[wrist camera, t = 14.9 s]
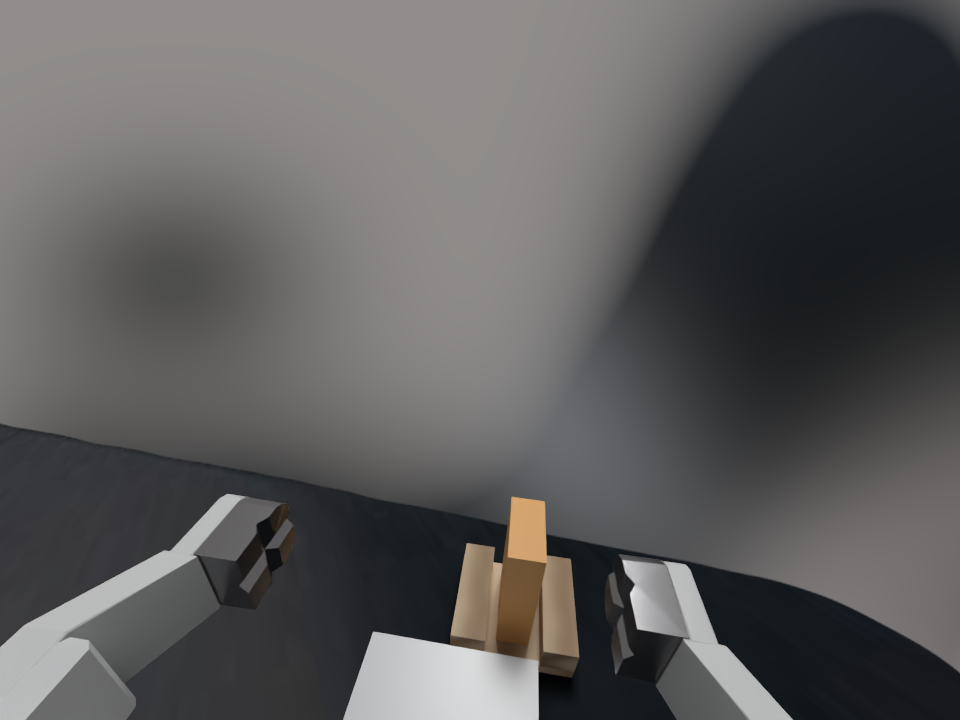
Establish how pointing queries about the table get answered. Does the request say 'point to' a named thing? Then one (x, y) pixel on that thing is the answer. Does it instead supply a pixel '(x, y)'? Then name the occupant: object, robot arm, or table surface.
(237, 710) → the table surface
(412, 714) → the block
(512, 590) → the orange rectangular block
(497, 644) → the rack
